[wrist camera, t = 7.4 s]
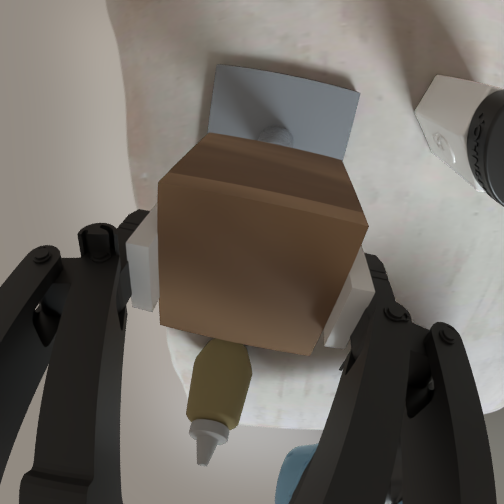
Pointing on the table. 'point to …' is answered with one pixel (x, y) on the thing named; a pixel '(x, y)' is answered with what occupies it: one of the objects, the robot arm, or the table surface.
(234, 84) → the base plate
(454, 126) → the jar
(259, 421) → the table surface
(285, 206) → the brown wooden cube
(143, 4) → the table surface
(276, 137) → the post
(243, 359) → the squeeze bottle
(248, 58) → the table surface
